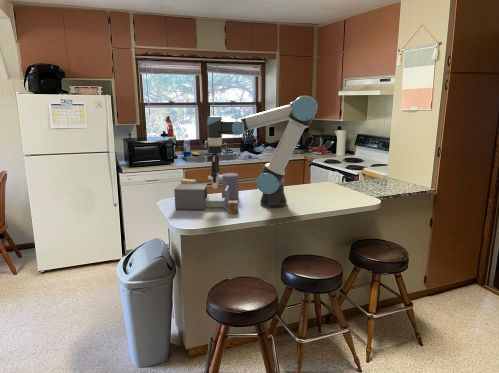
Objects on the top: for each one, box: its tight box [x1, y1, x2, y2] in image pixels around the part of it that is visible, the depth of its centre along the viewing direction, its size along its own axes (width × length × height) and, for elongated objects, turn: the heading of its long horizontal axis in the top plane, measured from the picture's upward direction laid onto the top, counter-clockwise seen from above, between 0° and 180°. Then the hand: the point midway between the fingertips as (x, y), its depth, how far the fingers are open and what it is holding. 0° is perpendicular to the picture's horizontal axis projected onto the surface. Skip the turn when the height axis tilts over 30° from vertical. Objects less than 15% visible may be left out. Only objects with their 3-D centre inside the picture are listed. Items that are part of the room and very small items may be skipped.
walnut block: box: [227, 199, 239, 215], centre depth 202 cm, size 5×5×6 cm
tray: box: [204, 186, 229, 211], centre depth 210 cm, size 16×12×11 cm
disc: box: [207, 174, 223, 182], centre depth 207 cm, size 8×8×2 cm
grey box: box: [173, 183, 208, 212], centre depth 210 cm, size 16×12×12 cm
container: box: [220, 172, 240, 200], centre depth 228 cm, size 10×10×15 cm
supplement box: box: [180, 178, 197, 184], centre depth 223 cm, size 8×5×13 cm, turn 70°
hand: (215, 186), depth 208 cm, fingers closed on disc, 8 cm apart
